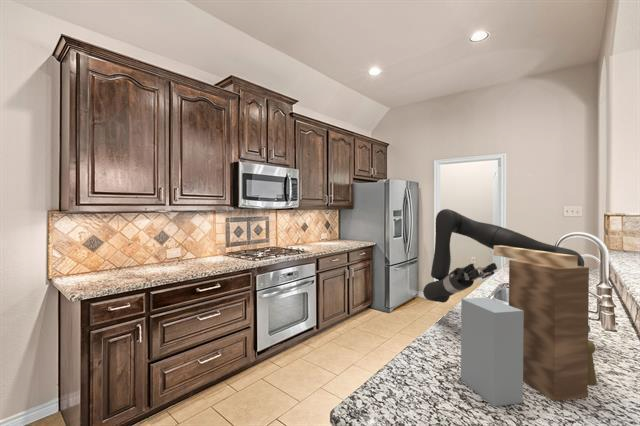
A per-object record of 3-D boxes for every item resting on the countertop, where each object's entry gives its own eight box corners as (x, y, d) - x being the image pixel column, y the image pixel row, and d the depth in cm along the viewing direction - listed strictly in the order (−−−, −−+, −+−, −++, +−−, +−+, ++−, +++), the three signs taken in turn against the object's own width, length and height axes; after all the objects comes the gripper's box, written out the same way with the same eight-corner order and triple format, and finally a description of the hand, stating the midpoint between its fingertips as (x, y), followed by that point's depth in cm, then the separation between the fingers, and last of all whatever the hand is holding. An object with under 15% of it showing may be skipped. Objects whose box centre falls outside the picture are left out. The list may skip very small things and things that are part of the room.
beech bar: (577, 268, 76) (577, 255, 76) (567, 268, 76) (567, 256, 76) (501, 254, 100) (501, 245, 100) (493, 255, 99) (493, 245, 99)
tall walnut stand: (587, 396, 77) (588, 267, 77) (554, 401, 75) (555, 268, 75) (537, 368, 91) (538, 259, 91) (508, 372, 89) (509, 260, 89)
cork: (602, 386, 82) (603, 344, 82) (576, 384, 83) (576, 342, 83) (587, 375, 88) (588, 336, 88) (563, 372, 89) (563, 334, 89)
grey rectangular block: (522, 402, 74) (523, 310, 74) (493, 406, 73) (494, 312, 73) (486, 376, 86) (487, 297, 86) (460, 379, 84) (461, 298, 84)
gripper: (438, 272, 119) (462, 256, 106) (470, 271, 122) (498, 255, 108) (443, 291, 116) (469, 277, 102) (477, 289, 118) (506, 276, 105)
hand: (484, 266), depth 105 cm, fingers open, 8 cm apart
